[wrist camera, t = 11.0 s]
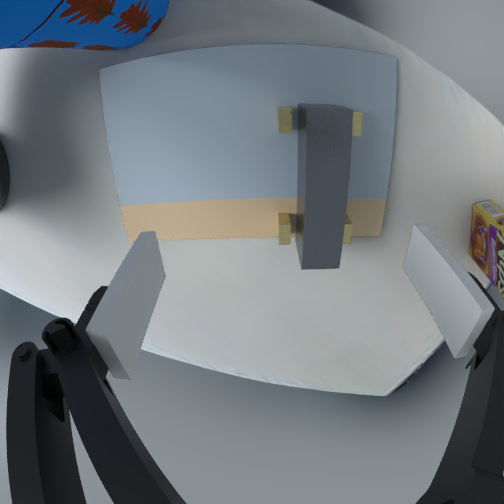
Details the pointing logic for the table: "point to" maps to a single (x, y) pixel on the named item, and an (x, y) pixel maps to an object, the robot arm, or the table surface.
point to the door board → (239, 136)
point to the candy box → (488, 241)
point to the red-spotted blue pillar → (78, 23)
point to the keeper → (283, 218)
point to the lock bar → (322, 183)
